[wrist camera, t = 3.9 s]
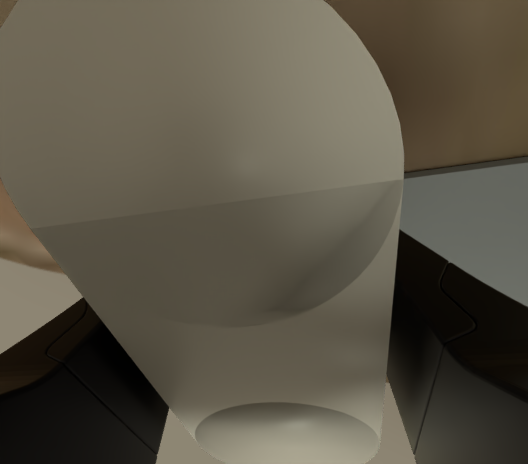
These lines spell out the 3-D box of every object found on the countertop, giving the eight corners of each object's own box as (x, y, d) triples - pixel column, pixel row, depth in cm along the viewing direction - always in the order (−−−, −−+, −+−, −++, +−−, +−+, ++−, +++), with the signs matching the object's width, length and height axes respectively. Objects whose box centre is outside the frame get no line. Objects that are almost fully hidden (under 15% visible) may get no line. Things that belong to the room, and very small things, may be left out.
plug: (327, -37, 7) (432, -153, 2) (345, 338, 15) (375, 501, 10) (139, 10, 7) (-136, 15, 3) (254, 343, 15) (239, 497, 11)
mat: (691, 134, 14) (705, 138, 14) (572, 322, 22) (578, 329, 22) (378, 176, 16) (381, 182, 16) (372, 334, 24) (374, 340, 24)
